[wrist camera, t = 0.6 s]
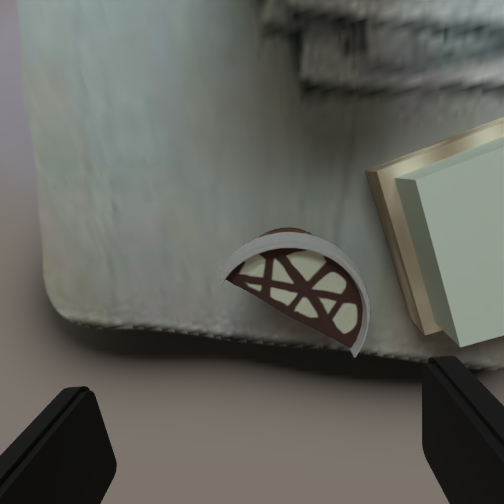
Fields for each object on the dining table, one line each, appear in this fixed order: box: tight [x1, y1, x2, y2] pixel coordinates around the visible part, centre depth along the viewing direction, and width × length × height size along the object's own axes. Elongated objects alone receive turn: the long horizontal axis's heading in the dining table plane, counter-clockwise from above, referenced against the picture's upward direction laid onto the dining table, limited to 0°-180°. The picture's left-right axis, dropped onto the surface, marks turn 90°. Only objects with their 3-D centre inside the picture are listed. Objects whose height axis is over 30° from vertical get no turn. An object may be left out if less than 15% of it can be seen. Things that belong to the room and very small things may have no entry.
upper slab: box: [394, 136, 504, 347], centre depth 24 cm, size 10×14×4 cm
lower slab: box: [366, 117, 504, 335], centre depth 28 cm, size 12×16×4 cm
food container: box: [219, 228, 370, 357], centre depth 26 cm, size 12×6×10 cm, turn 61°
